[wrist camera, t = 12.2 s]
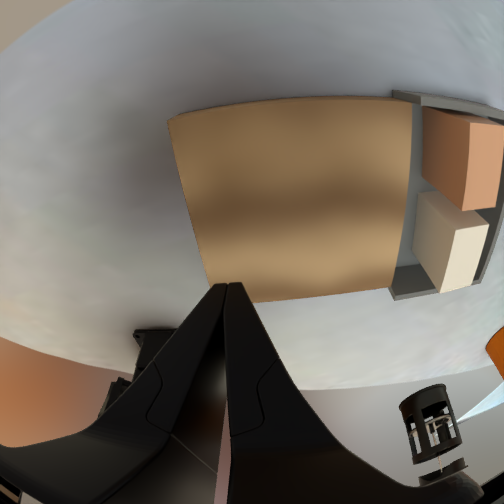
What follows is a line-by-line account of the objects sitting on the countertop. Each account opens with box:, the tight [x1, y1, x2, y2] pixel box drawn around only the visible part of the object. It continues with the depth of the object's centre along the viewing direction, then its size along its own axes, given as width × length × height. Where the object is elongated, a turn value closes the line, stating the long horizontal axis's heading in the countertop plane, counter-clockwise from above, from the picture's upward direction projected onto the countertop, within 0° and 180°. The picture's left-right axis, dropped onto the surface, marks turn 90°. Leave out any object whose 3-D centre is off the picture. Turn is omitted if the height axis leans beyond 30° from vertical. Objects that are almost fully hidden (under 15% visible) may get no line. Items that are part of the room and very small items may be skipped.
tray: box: [388, 90, 504, 301], centre depth 16 cm, size 14×9×4 cm, turn 8°
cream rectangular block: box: [412, 191, 489, 294], centre depth 16 cm, size 5×5×3 cm
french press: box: [399, 384, 468, 487], centre depth 29 cm, size 12×9×23 cm
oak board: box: [167, 96, 412, 303], centre depth 17 cm, size 13×13×2 cm
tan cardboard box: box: [422, 106, 504, 211], centre depth 13 cm, size 5×5×3 cm
